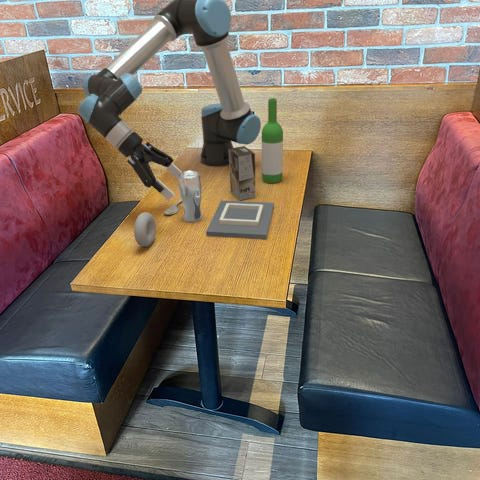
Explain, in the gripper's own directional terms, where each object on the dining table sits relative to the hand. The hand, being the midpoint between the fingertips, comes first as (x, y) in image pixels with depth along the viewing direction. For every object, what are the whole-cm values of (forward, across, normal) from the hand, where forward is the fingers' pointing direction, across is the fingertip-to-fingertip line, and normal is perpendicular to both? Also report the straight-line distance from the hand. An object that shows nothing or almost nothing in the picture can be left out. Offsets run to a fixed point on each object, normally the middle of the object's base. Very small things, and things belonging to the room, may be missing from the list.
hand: (178, 188), depth 140 cm
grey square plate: (+21, -1, +6) cm, 22 cm away
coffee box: (+19, -21, +4) cm, 29 cm away
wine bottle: (+25, -35, +10) cm, 45 cm away
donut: (+4, +17, -11) cm, 21 cm away
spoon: (+5, -11, -11) cm, 16 cm away
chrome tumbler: (+10, -1, -5) cm, 11 cm away
